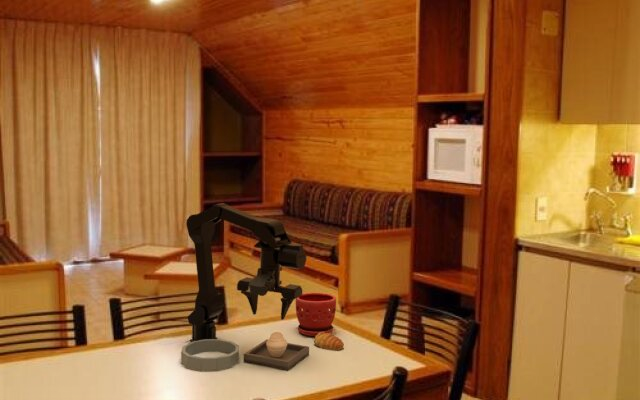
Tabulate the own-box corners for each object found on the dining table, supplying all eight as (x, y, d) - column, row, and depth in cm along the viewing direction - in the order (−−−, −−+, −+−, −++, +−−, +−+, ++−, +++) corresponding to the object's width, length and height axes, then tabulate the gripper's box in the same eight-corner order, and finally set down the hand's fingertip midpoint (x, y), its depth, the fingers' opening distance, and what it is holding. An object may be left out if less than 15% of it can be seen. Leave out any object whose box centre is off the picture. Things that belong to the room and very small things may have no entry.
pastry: (348, 348, 201) (349, 336, 201) (335, 353, 196) (335, 341, 196) (325, 340, 207) (325, 329, 207) (311, 346, 202) (311, 334, 202)
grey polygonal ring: (170, 364, 183) (170, 352, 183) (202, 347, 198) (202, 336, 197) (219, 375, 177) (219, 362, 177) (249, 356, 192) (249, 344, 191)
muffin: (284, 360, 186) (284, 336, 186) (263, 358, 188) (263, 334, 187) (289, 352, 192) (290, 329, 192) (269, 350, 194) (269, 327, 193)
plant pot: (343, 332, 215) (344, 296, 214) (315, 341, 206) (316, 304, 204) (314, 323, 224) (315, 289, 223) (286, 331, 214) (287, 295, 213)
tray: (243, 362, 187) (243, 353, 186) (266, 347, 199) (267, 339, 199) (287, 371, 181) (288, 362, 181) (309, 354, 194) (309, 346, 193)
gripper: (227, 265, 186) (226, 318, 188) (286, 274, 178) (284, 330, 180) (247, 258, 196) (245, 309, 198) (304, 266, 188) (302, 319, 190)
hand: (268, 316), depth 191 cm, fingers open, 9 cm apart
